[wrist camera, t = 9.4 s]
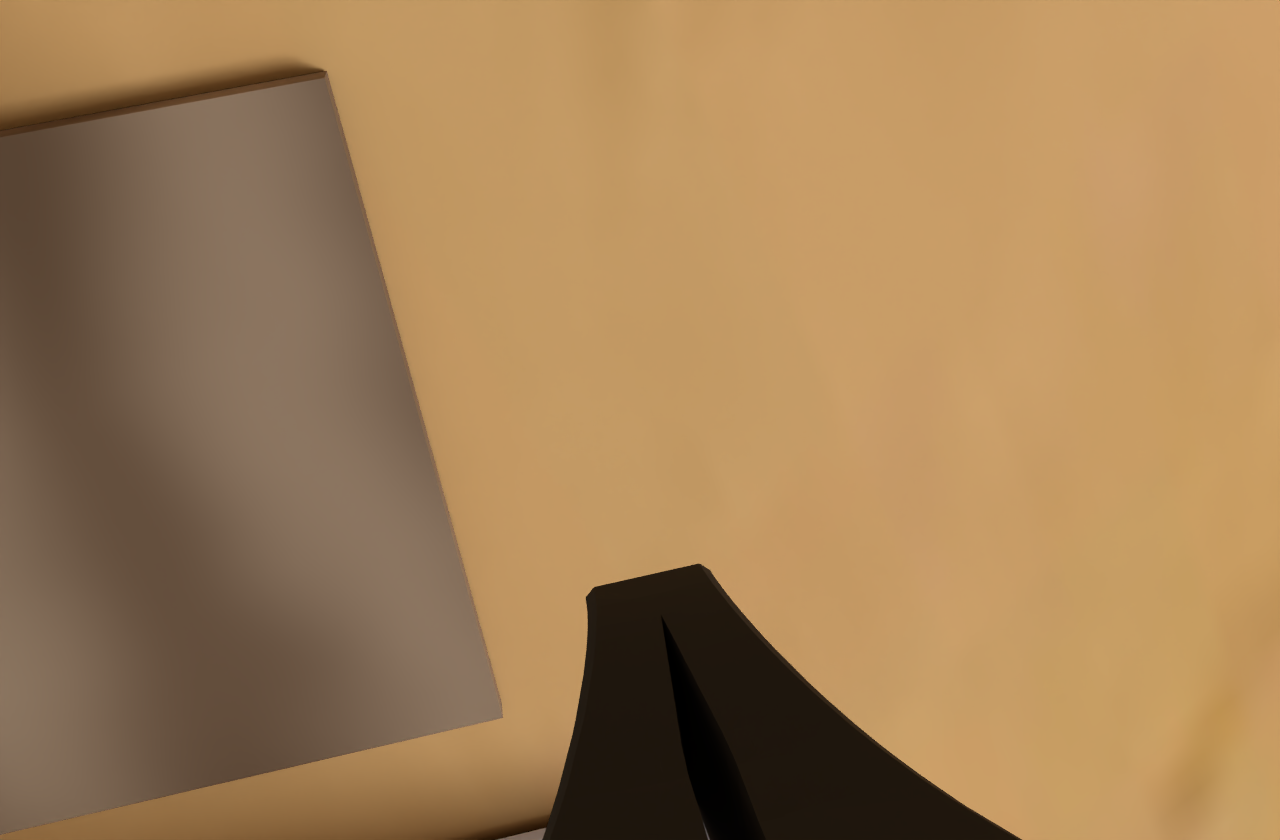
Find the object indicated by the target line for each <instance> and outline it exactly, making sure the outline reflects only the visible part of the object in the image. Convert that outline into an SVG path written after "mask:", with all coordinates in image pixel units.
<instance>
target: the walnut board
mask: <svg viewBox="0 0 1280 840" xmlns="http://www.w3.org/2000/svg"><path fill="white" fill-rule="evenodd" d="M500 718H503V714H502V704H501V699H500V695H499V692H498V688H497V685H496V681H495V677H494V674H493V670H492V666H491V663H490V659H489V656H488V652H487V648H486V645H485V641H484V638H483V634H482V630H481V627H480V623H479V620H478V616H477V612H476V609H475V605H474V601H473V598H472V594H471V591H470V587H469V583H468V580H467V576H466V573H465V569H464V565H463V562H462V558H461V555H460V551H459V547H458V544H457V540H456V536H455V533H454V529H453V526H452V522H451V518H450V515H449V511H448V508H447V504H446V500H445V497H444V493H443V490H442V486H441V482H440V479H439V475H438V471H437V468H436V464H435V461H434V457H433V453H432V450H431V446H430V443H429V439H428V435H427V432H426V428H425V425H424V421H423V417H422V414H421V410H420V406H419V403H418V399H417V396H416V392H415V388H414V385H413V381H412V378H411V374H410V370H409V367H408V363H407V360H406V356H405V352H404V349H403V345H402V341H401V338H400V334H399V331H398V327H397V323H396V320H395V316H394V313H393V309H392V305H391V302H390V298H389V295H388V291H387V287H386V284H385V280H384V276H383V273H382V269H381V266H380V262H379V258H378V255H377V251H376V248H375V244H374V240H373V237H372V233H371V229H370V226H369V222H368V219H367V215H366V211H365V208H364V204H363V201H362V197H361V193H360V190H359V186H358V183H357V179H356V175H355V172H354V168H353V164H352V161H351V157H350V154H349V150H348V146H347V143H346V139H345V136H344V132H343V128H342V125H341V121H340V118H339V114H338V110H337V107H336V103H335V99H334V96H333V92H332V89H331V85H330V81H329V78H328V74H327V71H324V72H318V73H313V74H307V75H302V76H296V77H291V78H285V79H280V80H274V81H269V82H263V83H258V84H252V85H247V86H242V87H236V88H231V89H225V90H220V91H214V92H209V93H203V94H198V95H192V96H187V97H181V98H176V99H171V100H165V101H160V102H154V103H149V104H143V105H138V106H132V107H127V108H121V109H116V110H110V111H105V112H99V113H94V114H89V115H83V116H78V117H72V118H67V119H61V120H56V121H50V122H45V123H39V124H34V125H28V126H23V127H17V128H12V129H7V130H1V131H0V835H1V834H6V833H10V832H14V831H18V830H23V829H27V828H31V827H36V826H40V825H44V824H49V823H53V822H57V821H61V820H66V819H70V818H74V817H79V816H83V815H87V814H92V813H96V812H100V811H104V810H109V809H113V808H117V807H122V806H126V805H130V804H135V803H139V802H143V801H147V800H152V799H156V798H160V797H165V796H169V795H173V794H178V793H182V792H186V791H190V790H195V789H199V788H203V787H208V786H212V785H216V784H220V783H225V782H229V781H233V780H238V779H242V778H246V777H251V776H255V775H259V774H263V773H268V772H272V771H276V770H281V769H285V768H289V767H294V766H298V765H302V764H306V763H311V762H315V761H319V760H324V759H328V758H332V757H337V756H341V755H345V754H349V753H354V752H358V751H362V750H367V749H371V748H375V747H380V746H384V745H388V744H392V743H397V742H401V741H405V740H410V739H414V738H418V737H423V736H427V735H431V734H435V733H440V732H444V731H448V730H453V729H457V728H461V727H465V726H470V725H474V724H478V723H483V722H487V721H491V720H496V719H500Z"/></svg>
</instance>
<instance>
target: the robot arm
mask: <svg viewBox="0 0 1280 840" xmlns="http://www.w3.org/2000/svg"><path fill="white" fill-rule="evenodd" d="M586 603H587V611H588V636H587V650H586V658H585V667H584V676H583V681H582V687H581V693H580V698H579V704H578V710H577V715H576V721H575V726H574V730H573V735H572V739H571V743H570V747H569V750H568V754H567V758H566V762H565V766H564V770H563V774H562V778H561V782H560V785H559V789H558V792H557V796H556V799H555V802H554V806H553V809H552V812H551V815H550V818H549V821H548V824H547V827H546V828H543V829H539V830H534V831H530V832H526V833H522V834H518V835H514V836H510V837H505V838H501V839H497V840H1022V839H1020V838H1018V837H1017V836H1015V835H1013V834H1012V833H1010V832H1008V831H1007V830H1005V829H1003V828H1002V827H1000V826H998V825H996V824H995V823H993V822H991V821H990V820H988V819H986V818H985V817H983V816H981V815H980V814H978V813H976V812H975V811H973V810H971V809H970V808H968V807H966V806H965V805H963V804H962V803H960V802H959V801H957V800H956V799H954V798H953V797H952V796H950V795H949V794H947V793H946V792H944V791H943V790H941V789H940V788H938V787H937V786H936V785H934V784H933V783H931V782H930V781H928V780H927V779H925V778H924V777H922V776H921V775H920V774H918V773H917V772H916V771H914V770H913V769H912V768H910V767H909V766H908V765H906V764H905V763H903V762H902V761H901V760H899V759H898V758H897V757H895V756H894V755H893V754H891V753H890V752H889V751H887V750H886V749H885V748H884V747H882V746H881V745H880V744H879V743H877V742H876V741H875V740H874V739H872V738H871V737H870V736H869V735H867V734H866V733H865V732H864V731H863V730H861V729H860V728H859V727H858V726H857V725H855V724H854V723H853V722H852V721H851V720H850V719H849V718H847V717H846V716H845V715H844V714H843V713H842V712H841V711H839V710H838V709H837V708H836V707H835V706H834V705H833V704H831V703H830V702H829V701H828V700H827V699H826V698H825V697H824V696H823V695H821V694H820V693H819V692H818V691H817V690H816V689H815V688H814V687H813V686H812V685H811V684H810V683H809V682H808V681H807V680H806V679H805V678H804V677H803V676H802V675H801V674H800V673H799V672H798V671H797V670H796V669H795V668H794V667H793V666H792V665H791V664H790V663H789V662H788V661H787V660H786V659H785V658H784V657H783V656H782V655H781V654H780V653H779V652H778V651H777V650H776V649H775V648H774V647H773V646H772V645H771V644H770V643H769V642H768V641H767V640H766V639H765V638H764V637H763V636H762V635H761V633H760V632H759V631H758V630H757V629H756V628H755V627H754V626H753V624H752V623H751V622H750V621H749V620H748V619H747V618H746V616H745V615H744V614H743V613H742V612H741V611H740V609H739V608H738V607H737V606H736V605H735V603H734V602H733V601H732V600H731V598H730V597H729V596H728V595H727V593H726V592H725V591H724V589H723V588H722V587H721V585H720V584H719V583H718V581H717V580H716V579H715V577H714V576H713V574H712V573H711V571H710V570H709V569H707V568H706V567H704V566H702V565H701V564H695V565H691V566H686V567H682V568H677V569H673V570H668V571H664V572H660V573H655V574H651V575H646V576H642V577H637V578H633V579H628V580H624V581H619V582H615V583H611V584H606V585H602V586H597V587H594V588H593V589H592V590H591V592H590V593H589V594H588V595H587V597H586Z"/></svg>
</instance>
